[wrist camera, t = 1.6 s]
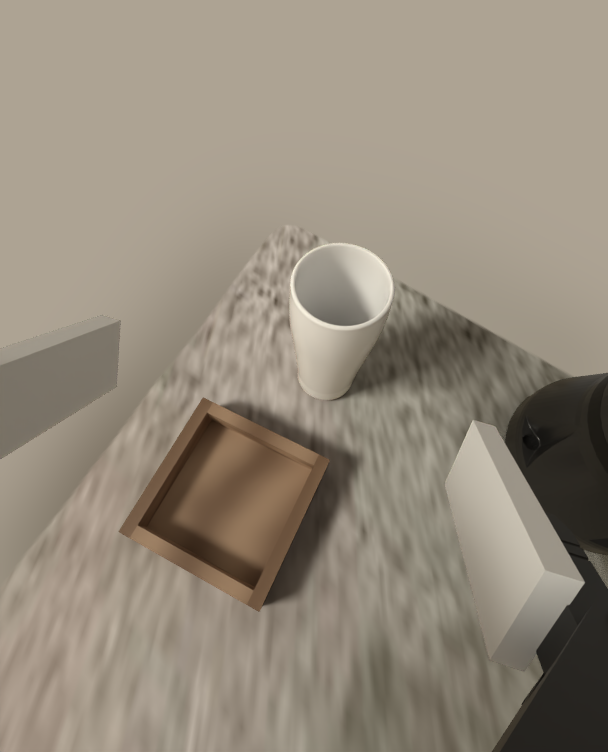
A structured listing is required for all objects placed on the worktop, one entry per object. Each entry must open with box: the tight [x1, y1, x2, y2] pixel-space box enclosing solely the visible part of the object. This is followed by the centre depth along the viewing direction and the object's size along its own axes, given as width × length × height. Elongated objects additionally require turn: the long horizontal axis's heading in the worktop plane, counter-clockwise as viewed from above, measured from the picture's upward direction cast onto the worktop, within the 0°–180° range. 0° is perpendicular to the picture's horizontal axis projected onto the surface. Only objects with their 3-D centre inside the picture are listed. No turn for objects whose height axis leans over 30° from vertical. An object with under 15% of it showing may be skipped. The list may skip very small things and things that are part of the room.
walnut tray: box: [119, 398, 330, 611], centre depth 33 cm, size 12×12×3 cm
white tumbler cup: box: [289, 243, 395, 400], centre depth 33 cm, size 7×7×15 cm
